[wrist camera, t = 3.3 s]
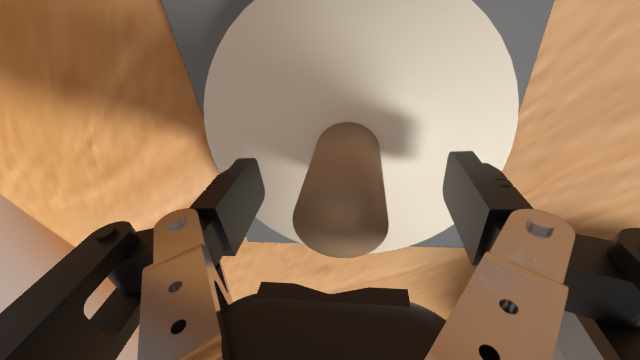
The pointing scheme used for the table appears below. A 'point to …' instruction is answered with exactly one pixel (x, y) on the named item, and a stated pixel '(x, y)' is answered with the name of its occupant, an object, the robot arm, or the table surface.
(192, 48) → the mat
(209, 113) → the lid
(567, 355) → the bowl
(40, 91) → the table surface
